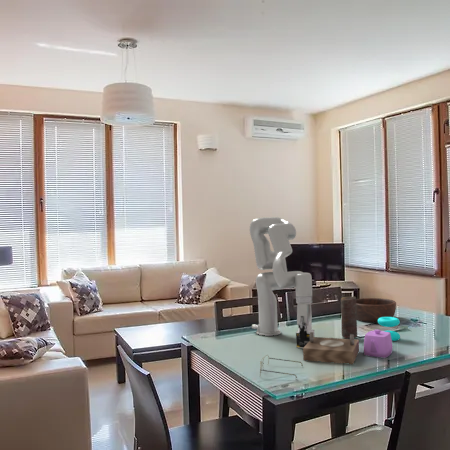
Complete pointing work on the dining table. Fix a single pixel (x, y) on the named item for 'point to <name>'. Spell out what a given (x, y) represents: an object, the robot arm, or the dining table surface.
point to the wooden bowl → (374, 309)
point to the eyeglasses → (273, 371)
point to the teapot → (378, 343)
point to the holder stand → (331, 349)
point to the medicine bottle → (303, 342)
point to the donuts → (390, 323)
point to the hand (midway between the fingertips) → (305, 337)
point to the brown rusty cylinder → (348, 317)
